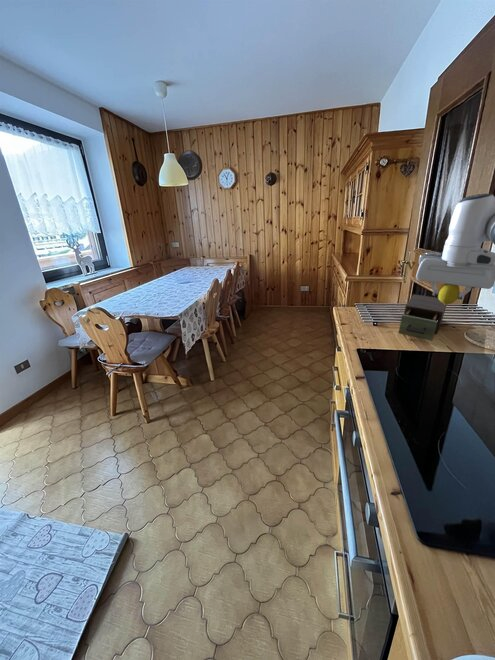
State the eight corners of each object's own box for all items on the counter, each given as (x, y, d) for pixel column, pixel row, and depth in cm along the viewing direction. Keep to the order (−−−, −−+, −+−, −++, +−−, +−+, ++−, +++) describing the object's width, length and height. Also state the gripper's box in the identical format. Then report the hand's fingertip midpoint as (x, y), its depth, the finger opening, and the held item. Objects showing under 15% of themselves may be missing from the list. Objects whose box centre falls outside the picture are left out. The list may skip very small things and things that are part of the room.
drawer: (429, 346, 102) (435, 326, 99) (395, 337, 109) (399, 319, 105) (437, 326, 115) (442, 309, 111) (406, 320, 121) (409, 303, 118)
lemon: (449, 301, 95) (456, 278, 91) (459, 308, 90) (466, 283, 86) (432, 301, 95) (438, 279, 92) (440, 308, 90) (447, 284, 87)
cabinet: (436, 334, 111) (443, 312, 107) (401, 327, 118) (405, 305, 114) (442, 320, 121) (448, 299, 117) (408, 314, 128) (413, 294, 124)
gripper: (418, 253, 89) (409, 294, 95) (503, 259, 77) (487, 306, 83) (422, 249, 93) (413, 289, 99) (503, 254, 81) (487, 299, 88)
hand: (447, 297), depth 91 cm, fingers closed on lemon, 5 cm apart
